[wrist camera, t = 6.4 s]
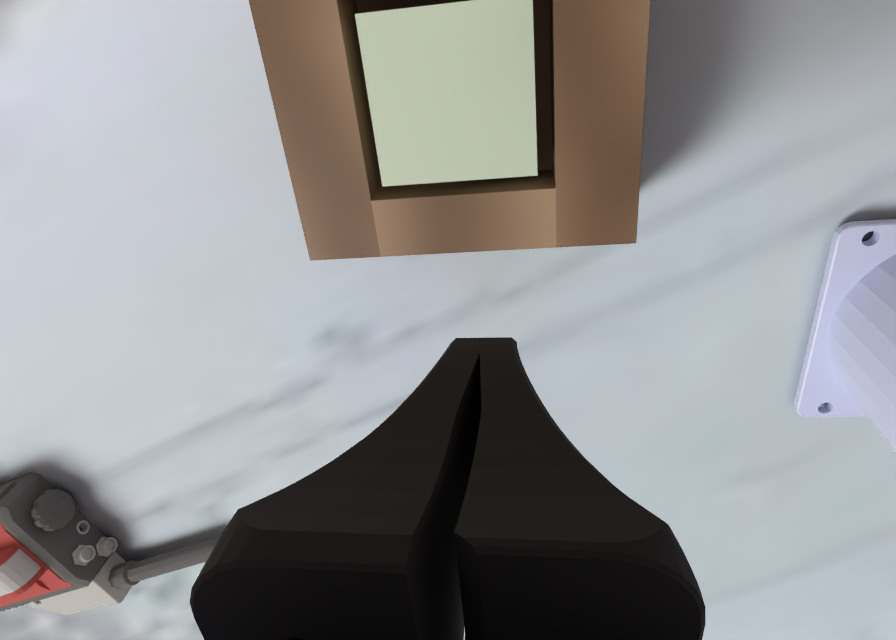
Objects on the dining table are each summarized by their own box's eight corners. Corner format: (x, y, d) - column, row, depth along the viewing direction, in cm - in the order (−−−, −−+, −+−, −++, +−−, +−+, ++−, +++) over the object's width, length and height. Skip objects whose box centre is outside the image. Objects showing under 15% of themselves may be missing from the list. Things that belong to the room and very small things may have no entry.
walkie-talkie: (9, 608, 38) (249, 537, 32) (-48, 677, 34) (212, 612, 28) (-102, 518, 34) (143, 420, 28) (-180, 585, 31) (85, 487, 24)
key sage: (530, -8, 16) (532, -7, 14) (535, 155, 18) (537, 175, 16) (373, 10, 16) (354, 14, 15) (396, 166, 19) (382, 186, 17)
